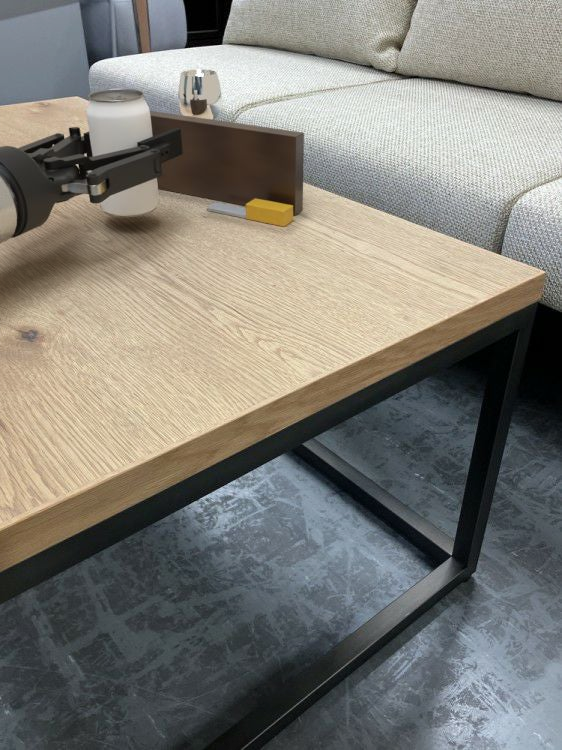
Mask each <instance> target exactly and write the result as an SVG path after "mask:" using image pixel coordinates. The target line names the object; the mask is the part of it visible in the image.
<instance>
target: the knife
mask: <svg viewBox="0 0 562 750" xmlns="http://www.w3.org/2000/svg"><path fill="white" fill-rule="evenodd" d="M206 211H207V212H213V213H218V214H222V215H227V216H232V217H236V218H241V219H246V220H250V221H254V222H259V223H265V224H269V225H275V226H279V227H286V226H287V225H289V224H290V223H291V222H293V221H294V215H293V205H288V204H282V203H277V202H272V201H267V200H261V199H256V198H255V199H253V200H252V201H250V202H248V203H247V204H246V206H245V207H242V206H236V205H231V204H225V203H221V202H215V201H214V202H213V203H212V204H210V205H208V206H206Z"/></svg>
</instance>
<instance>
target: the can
mask: <svg viewBox="0 0 562 750" xmlns="http://www.w3.org/2000/svg"><path fill="white" fill-rule="evenodd" d="M144 96H145V92H143V91H142V90H139V89H134V88H133V89H132V88H108V89H102V90H101V89H100V90H96V91H93V92H91V93H89V94H88V96H87V97H88V99H89V100H88V101H89V102H88V105H87V109H86V119H87V127H88V132H89V135H90V142H91V148H92V155H93V156H98V155H102V154H107V153H111V152H116V151H120V150H125V149H129V148H134V147H138V145H137V142H140V141H142V140H145V139H148V138H150V137H153V135H152V125H151V116H150V111H151V110H150V106H149V105H148V103H147V102H146V100H145V97H144ZM159 197H160V195H159V189H158V184H157V178H155V179H153V180H150V181H147V182H145V183H142V184H140V185H137V186H134V187H132V188H129V189H127V190H124V191H121V192H119V193H116V194H114V195H111V196H110V197H108V198H107V199H106V200H104V201H103V202H101V203H99V205H100V209H101V210H102V211H103V212H104V213H105V214H107V215H108V216H111V217H115V218H137V217H141V216H146V215H149V214H150V213H152V212H154V211H155V210H156V209H157V208H158V206H159V204H160V198H159Z"/></svg>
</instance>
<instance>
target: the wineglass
mask: <svg viewBox="0 0 562 750" xmlns="http://www.w3.org/2000/svg"><path fill="white" fill-rule="evenodd" d="M220 83H221V82H220V80H219V76H218V73H217V71H216V70H212V69H203V68H202V69H199V68H198V69H188V70H184V71H181V72H180V75H179V82H178V92H177V93H178V94H177V95H178V96H177V97H178V106H179V110H180V113H181V115H184V116H191V117H198V118H205V119H212V120H217V118H218V117H219V116H220V115H221V113H222V110H223V109H222V108H223V92H222V88H221V84H220Z"/></svg>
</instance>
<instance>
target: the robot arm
mask: <svg viewBox="0 0 562 750" xmlns="http://www.w3.org/2000/svg"><path fill="white" fill-rule="evenodd" d="M68 134H69V135H68V136H67V137H65V134H64V133H61V132H56V133H54V134H52V135H49V136H46V137H43V138H41V139H38V140H36V141H32V142H30V143H28V144H25V145H22V146H19V147H16V146H12V145H3V146H0V244H2V243H5V242H7V241H8V240H10V239H13V238H17V237H19V236H21V235H24V234H26V233H28V232H30V231H32V230H34V229H37V228H39V227H42V226H43V225H44V224H45V223H46V222H47V221H48V219H49V218H50V215H51V213H52V210H53V208H54V207H55V204H59V203H65V202H68V201H70V200H71V199H73V198H75V197H77V196H81V195H88V197H89V202H90V204H100V203H101V202H103V201H104V200H106V199H107V198H108V197H110V196H111V195H114V194H116V193H119V192H121V191H124V190H127V189H129V188H132V187H134V186H137V185H140V184H142V183H145V182H147V181H150V180H153V179H155V178H158V177H160V176H162V169H161V163H163V162H165V161H168V160H170V159H172V158H175V157H177V156H179V155H182V154H183V152H182V139H181V129H178V128H174V129H171V130H169V131H166V132H163V133H161V134H158V135H156V136H153V137H150V138H148V139H145V140H142V141H140V142H137V145H138V147H134V148H129V149H125V150H120V151H116V152H111V153H107V154H102V155H98V156H93V155H92V148H91V142H90V135H89V131H86V132H83V134H82V133H81V127H79V126H72V127H68Z"/></svg>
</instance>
